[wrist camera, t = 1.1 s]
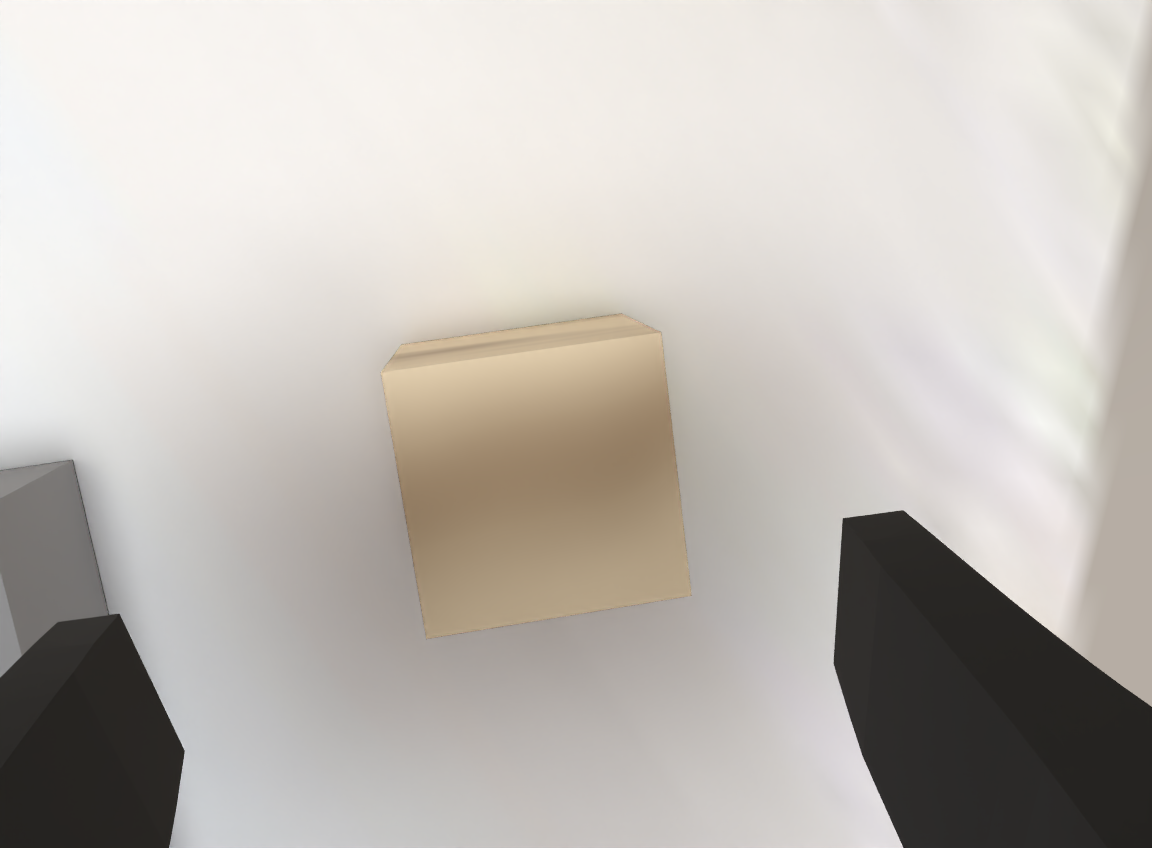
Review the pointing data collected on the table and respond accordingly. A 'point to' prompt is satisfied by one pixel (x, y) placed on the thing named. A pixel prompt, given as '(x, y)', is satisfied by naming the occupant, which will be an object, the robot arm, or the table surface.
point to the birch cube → (537, 472)
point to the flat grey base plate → (43, 557)
